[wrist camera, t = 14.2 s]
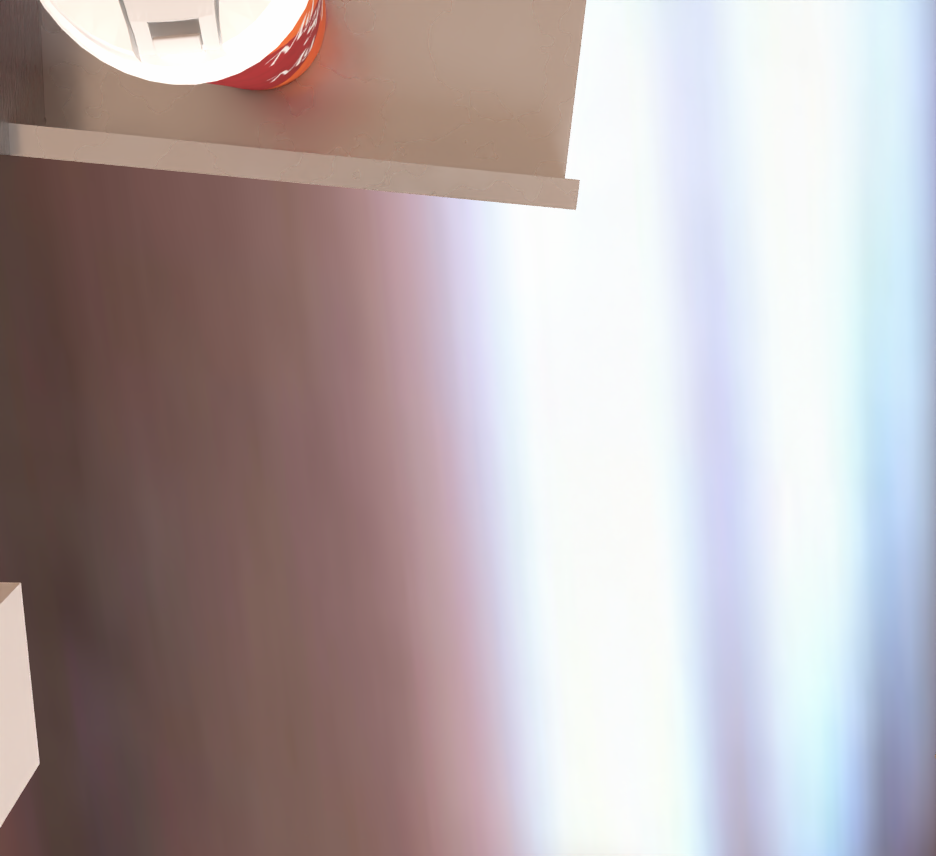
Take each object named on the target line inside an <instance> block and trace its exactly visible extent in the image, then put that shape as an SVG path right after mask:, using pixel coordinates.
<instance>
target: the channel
mask: <svg viewBox="0 0 936 856" xmlns="http://www.w3.org/2000/svg"><path fill="white" fill-rule="evenodd" d="M585 6H586V0H325V7H326V26H325V33H324V38H323V41H322V45H321V47H320V50H319V52H318V54H317V56H316V58H315V59H314V61H313V62H312V64H311V65H310V66H309V68H308V69H307V70H306V71H305V72H304V73H303V74H302V75H301V76H299V77H298V78H297V79H295V80H294V81H292V82H290V83H288V84H286V85H284V86H281V87H278V88H274V89H268V90H247V89H240V88H235V87H229V86H222V85H215V84H208V83H202V84H196V85H172V84H165V83H159V82H153V81H148V80H145V79H142V78H139V77H136V76H133V75H130V74H127V73H124V72H122V71H120V70H118V69H116V68H114V67H112V66H110V65H108V64H106V63H104V62H102V61H101V60H99V59H98V58H96V57H95V56H94V55H92V54H91V53H89V52H88V51H86V50H85V49H84V48H82V47H81V46H80V45H79V44H77V43H76V42H75V41H74V40H73V39H72V38H71V37H70V36H69V35H68V34H67V33H66V32H65V31H64V30H62V29H61V27H60V26H59V25H58V24H57V23H56V21H55V20H54V19H53V18H52V16H51V15H50V14H49V13H48V12H47V10H46V9H45V8H44V6H43V5H42V3H41V2H40V0H0V154H2V155H15V156H26V157H36V158H46V159H57V160H67V161H77V162H88V163H98V164H108V165H119V166H129V167H139V168H150V169H160V170H170V171H181V172H191V173H202V174H212V175H222V176H233V177H243V178H253V179H264V180H274V181H284V182H295V183H305V184H315V185H326V186H336V187H346V188H357V189H367V190H377V191H388V192H398V193H408V194H419V195H429V196H439V197H450V198H460V199H470V200H481V201H491V202H501V203H512V204H522V205H532V206H543V207H553V208H563V209H574V210H576V204H577V196H578V189H579V181H580V180H573V179H565V171H566V162H567V154H568V146H569V138H570V129H571V121H572V113H573V105H574V96H575V88H576V80H577V72H578V63H579V55H580V47H581V39H582V30H583V22H584V14H585Z"/></svg>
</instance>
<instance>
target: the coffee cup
mask: <svg viewBox="0 0 936 856" xmlns="http://www.w3.org/2000/svg"><path fill="white" fill-rule="evenodd" d="M40 2H41V3H42V5H43V6H44V8H45V9H46V10H47V12H48V13H49V14H50V15H51V16H52V18H53V19H54V20H55V21H56V23H57V24H58V25H59V26H60V27H61V29H62V30H64V31H65V32H66V33H67V34H68V35H69V36H70V37H71V38H72V39H73V40H74V41H75V42H76V43H77V44H79V45H80V46H81V47H82V48H84V49H85V50H86V51H88V52H89V53H91V54H92V55H94V56H95V57H96V58H98V59H99V60H101V61H102V62H104V63H106V64H108V65H110V66H112V67H114V68H116V69H118V70H120V71H122V72H124V73H127V74H130V75H133V76H136V77H139V78H142V79H145V80H148V81H153V82H159V83H165V84H172V85H196V84H202V83H208V84H215V85H222V86H229V87H235V88H240V89H247V90H268V89H274V88H278V87H281V86H284V85H286V84H288V83H290V82H292V81H294V80H295V79H297V78H298V77H299V76H301V75H302V74H303V73H304V72H305V71H306V70H307V69H308V68H309V66H310V65H311V64H312V62H313V61H314V59H315V58H316V56H317V54H318V52H319V50H320V47H321V45H322V41H323V38H324V33H325V26H326V7H325V0H40Z"/></svg>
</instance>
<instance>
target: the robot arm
mask: <svg viewBox="0 0 936 856" xmlns="http://www.w3.org/2000/svg"><path fill="white" fill-rule="evenodd" d="M935 758H936V754H935ZM39 764H40V763H39V754H38V744H37V734H36V725H35V715H34V705H33V696H32V686H31V677H30V667H29V657H28V648H27V638H26V628H25V619H24V609H23V600H22V590H21V583H5V582H0V827H1V825H2V824H3V822H4V820H5V819H6V817H7V815H8V814H9V812H10V811H11V809H12V807H13V806H14V804H15V802H16V801H17V799H18V798H19V796H20V794H21V793H22V791H23V790H24V788H25V786H26V785H27V783H28V781H29V780H30V778H31V777H32V775H33V773H34V772H35V770H36V768H37V767H38V765H39Z"/></svg>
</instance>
